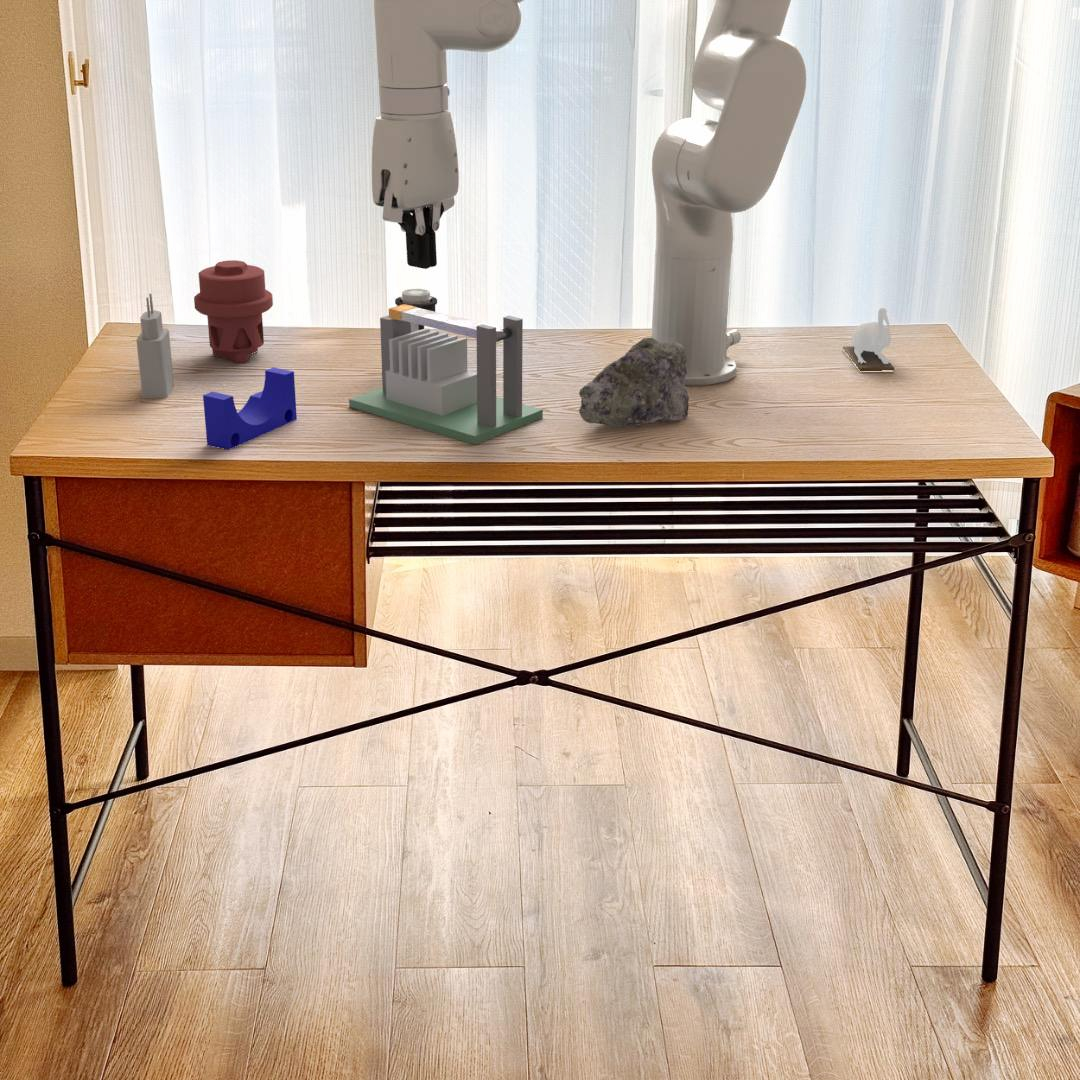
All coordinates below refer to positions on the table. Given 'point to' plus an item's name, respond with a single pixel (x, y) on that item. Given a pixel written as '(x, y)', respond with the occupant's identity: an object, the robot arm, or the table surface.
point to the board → (449, 382)
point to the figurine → (871, 345)
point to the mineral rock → (639, 387)
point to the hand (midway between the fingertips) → (422, 265)
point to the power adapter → (154, 355)
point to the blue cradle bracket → (251, 411)
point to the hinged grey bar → (443, 321)
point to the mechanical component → (233, 308)
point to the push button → (417, 303)
